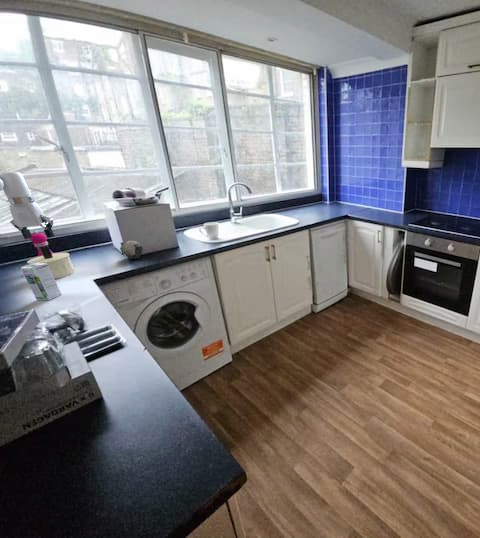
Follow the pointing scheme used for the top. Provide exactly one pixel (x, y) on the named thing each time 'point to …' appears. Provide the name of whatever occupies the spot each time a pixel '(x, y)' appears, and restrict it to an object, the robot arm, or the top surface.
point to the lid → (47, 256)
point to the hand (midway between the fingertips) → (40, 237)
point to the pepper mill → (39, 241)
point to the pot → (61, 268)
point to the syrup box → (41, 281)
